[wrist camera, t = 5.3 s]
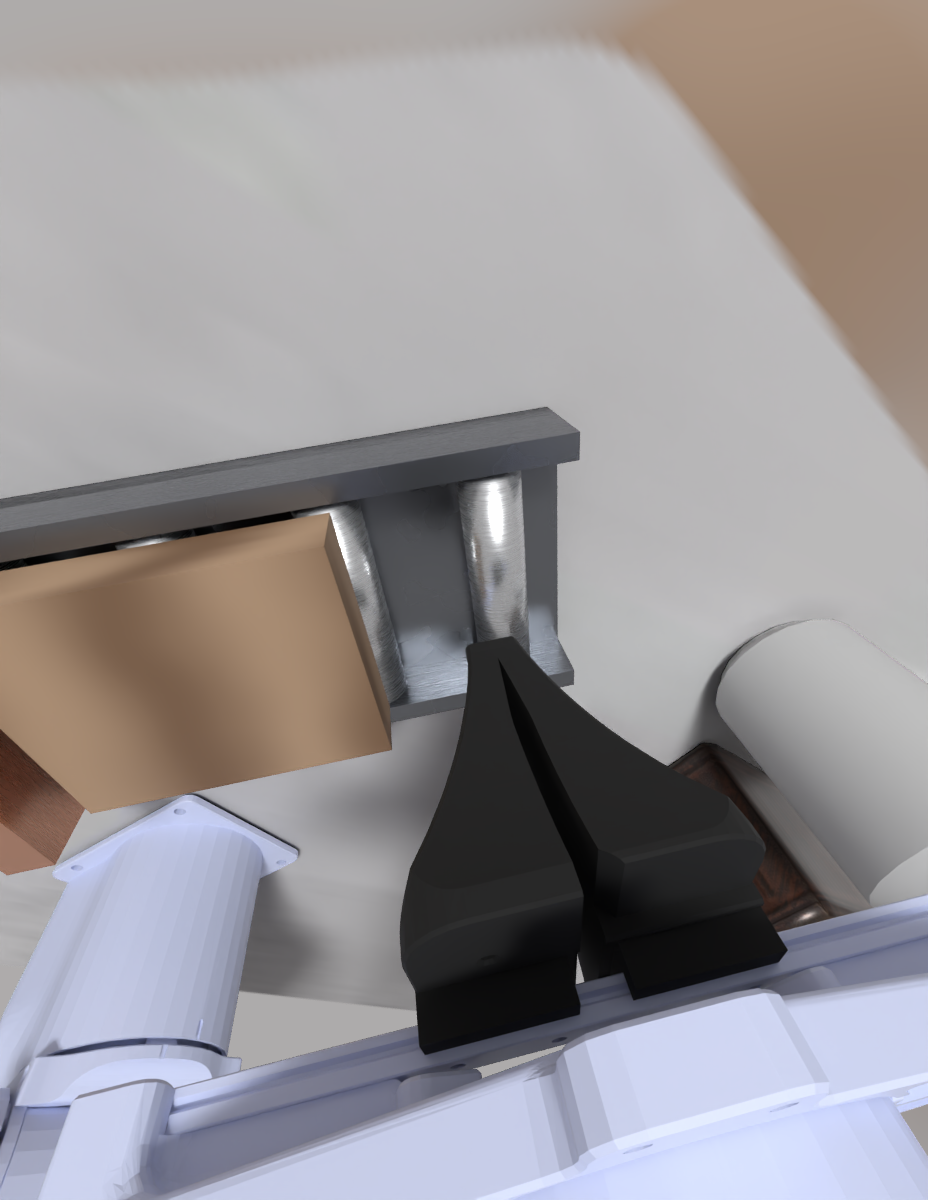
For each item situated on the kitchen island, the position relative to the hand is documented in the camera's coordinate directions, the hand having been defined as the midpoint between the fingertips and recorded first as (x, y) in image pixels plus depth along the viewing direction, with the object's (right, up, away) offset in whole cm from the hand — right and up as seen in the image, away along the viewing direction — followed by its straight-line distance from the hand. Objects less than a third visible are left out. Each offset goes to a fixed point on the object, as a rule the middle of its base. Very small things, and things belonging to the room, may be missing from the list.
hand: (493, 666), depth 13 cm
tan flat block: (-9, 0, +2) cm, 9 cm away
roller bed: (-7, +2, +5) cm, 9 cm away
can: (+16, -1, +12) cm, 20 cm away
